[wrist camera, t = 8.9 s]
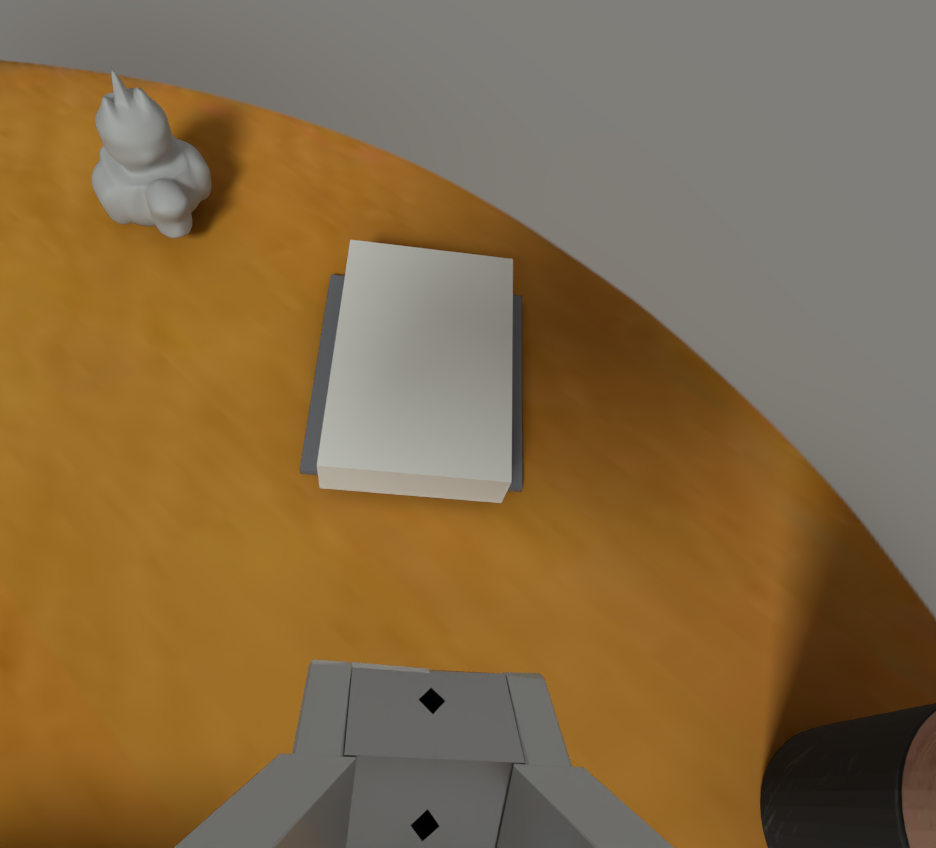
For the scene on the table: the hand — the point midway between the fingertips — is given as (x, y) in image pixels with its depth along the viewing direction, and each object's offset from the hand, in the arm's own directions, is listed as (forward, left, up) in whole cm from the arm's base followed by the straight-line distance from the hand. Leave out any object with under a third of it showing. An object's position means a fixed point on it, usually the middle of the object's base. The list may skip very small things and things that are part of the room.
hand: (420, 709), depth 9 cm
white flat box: (0, +11, -18) cm, 21 cm away
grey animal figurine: (-14, +25, -20) cm, 35 cm away
